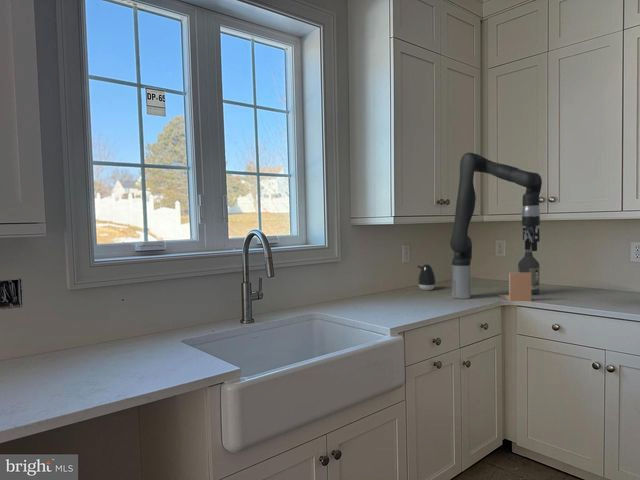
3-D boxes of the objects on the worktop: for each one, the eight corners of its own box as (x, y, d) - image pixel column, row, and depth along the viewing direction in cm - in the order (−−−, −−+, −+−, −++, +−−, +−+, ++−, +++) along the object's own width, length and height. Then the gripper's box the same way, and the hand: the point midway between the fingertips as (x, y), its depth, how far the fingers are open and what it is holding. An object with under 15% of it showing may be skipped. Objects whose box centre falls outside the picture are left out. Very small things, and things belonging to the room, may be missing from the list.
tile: (510, 300, 218) (510, 273, 217) (509, 300, 220) (509, 272, 219) (531, 300, 216) (531, 272, 216) (529, 300, 218) (529, 272, 218)
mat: (504, 299, 221) (504, 298, 221) (497, 295, 233) (497, 294, 233) (533, 299, 219) (533, 298, 219) (525, 295, 231) (525, 294, 231)
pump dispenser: (417, 288, 263) (416, 263, 262) (434, 288, 261) (434, 263, 261) (418, 291, 253) (418, 265, 252) (436, 291, 251) (436, 264, 251)
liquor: (516, 293, 238) (516, 238, 237) (524, 291, 244) (524, 238, 242) (532, 295, 231) (532, 239, 230) (541, 293, 236) (541, 238, 235)
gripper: (517, 215, 209) (517, 249, 210) (528, 215, 195) (528, 251, 196) (533, 215, 208) (533, 249, 209) (545, 215, 194) (545, 251, 195)
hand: (530, 250), depth 202 cm, fingers open, 8 cm apart
